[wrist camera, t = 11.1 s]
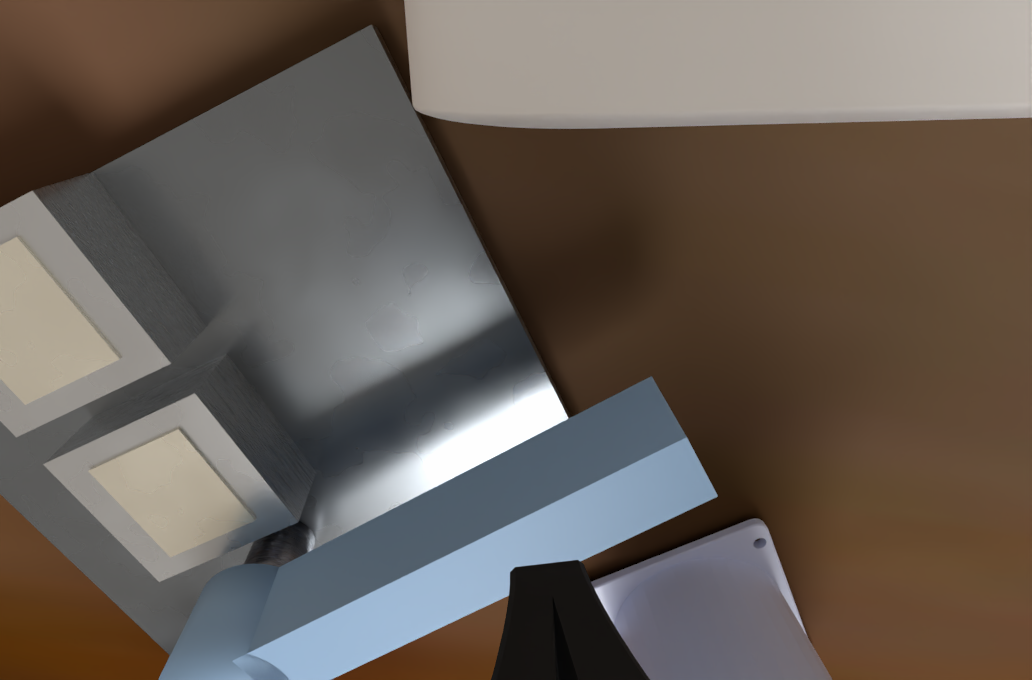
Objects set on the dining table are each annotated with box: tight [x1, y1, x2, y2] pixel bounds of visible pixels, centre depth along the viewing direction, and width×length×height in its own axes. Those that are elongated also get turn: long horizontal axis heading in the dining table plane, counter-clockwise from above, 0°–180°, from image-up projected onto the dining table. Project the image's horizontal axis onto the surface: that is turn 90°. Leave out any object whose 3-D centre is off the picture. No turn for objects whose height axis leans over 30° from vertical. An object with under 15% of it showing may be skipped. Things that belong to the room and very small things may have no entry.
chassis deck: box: [0, 25, 571, 655], centre depth 21 cm, size 18×18×1 cm
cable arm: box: [159, 376, 718, 680], centre depth 17 cm, size 16×4×3 cm, turn 119°
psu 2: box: [0, 172, 207, 437], centre depth 17 cm, size 5×5×3 cm
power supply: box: [43, 353, 316, 582], centre depth 19 cm, size 5×5×3 cm
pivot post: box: [244, 521, 315, 567], centre depth 21 cm, size 2×2×4 cm
